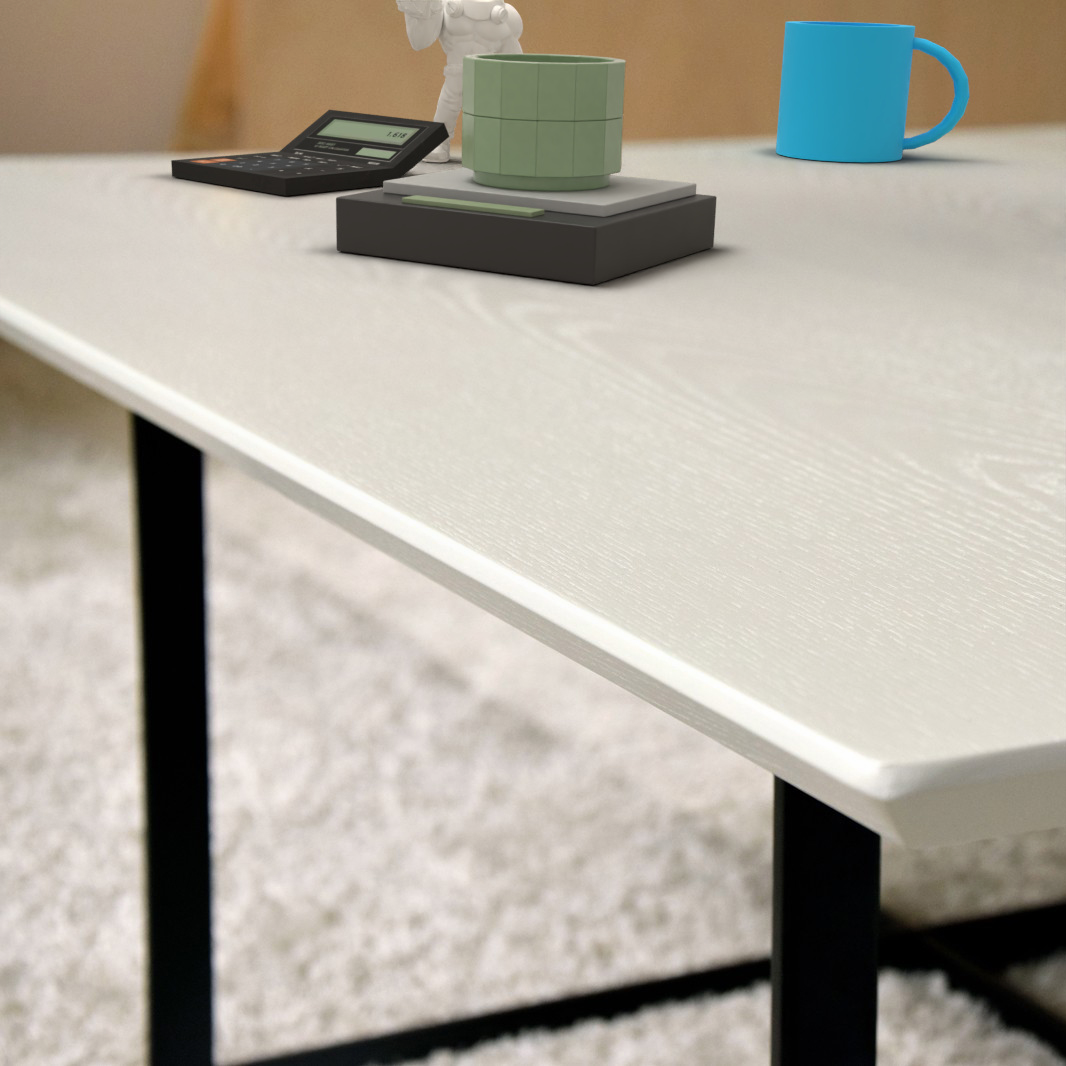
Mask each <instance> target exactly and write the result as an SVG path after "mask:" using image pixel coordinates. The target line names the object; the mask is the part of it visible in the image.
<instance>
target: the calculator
mask: <svg viewBox="0 0 1066 1066" xmlns="http://www.w3.org/2000/svg"><path fill="white" fill-rule="evenodd" d="M448 137H449V134H448V131H447V129H446V126H445V124H444V123H440V122H433V121H431V120H423V119H414V118H406V117H398V116H397V117H396V116H388V115H380V114H371V113H363V112H355V111H354V112H353V111H346V110H337V109H328V110H327V111H326V112H325V113H323V114H322V115H321V116H320V117H318V118H317V119H316V120H315V121H313V122H312V123H311V124H310V125H309V126H308V127H306V128H305V129H304V130H303V131H302V132H301V133H299V134H298V135H297V136H296V137H294V139H292V140H291V141H290V142H289V143H287V144H286V145H285V146H283V147H282V148H281V149H280V150H278V151H270V152H257V153H245V154H244V153H243V154H231V155H219V156H209V157H208V156H207V157H194V158H183V159H182V158H181V159H171V160H170V161H171V163H170V164H171V165H170V166H171V177H173V178H179V179H185V180H189V181H194V182H195V181H196V182H202V183H208V184H213V185H218V186H219V185H220V186H225V187H230V188H231V187H232V188H237V189H242V190H249V191H255V192H261V193H266V194H272V195H278V196H284V197H288V196H297V195H306V194H317V193H324V192H335V191H344V190H355V189H362V188H363V189H364V188H373V187H381V186H382V187H383V181H387V180H393V179H399V178H404V177H405V175H406V174H407V173H409V172H410V171H411V170H412V169H413V168H414V167H416V166H417V165H418V164H419V163H420V162H421V161H423V159H424V158H425V157H426V156H427V155H428V154H430V153H431V152H432V151H433V150H434V149H435V148H437V147H438V146H439V145H440V144H441V143H442V142H444V141H445V140H446V139H447V138H448Z"/></svg>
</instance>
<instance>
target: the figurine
mask: <svg viewBox="0 0 1066 1066" xmlns="http://www.w3.org/2000/svg"><path fill="white" fill-rule="evenodd" d="M395 4H396V5H397V10H398V11H399V12H400V13H401V12H402V13H404V22H405V31H406V36H407V39H408V41H409V44H410V47H411V49H412V50H414V51H416V52H420V51H422V50H424V49H427V48H429V47H431V46H432V45H433V44H434V43H435V42H436V41H437V40H438V42H439V45H440V46H441V49H442V51H443V53H444V54H445V55H446V65H444V66H443V71H442V72H443V74H442V75H443V77H445V78H444V82H443V85H442V87H441V90H440V93H439V98H438V99H437V103H436V111H435V113H434V117H433V121H432V122H440V123H444V124H445V126H446V129H447V131H448V134H449V137H448V138H447V139H446V140H445V141H444V142H442V143H441V144H440V145H439V146H438V147H437V148H435V149H434V150H433V151H432V152H431V153H430V154H428V155H427V156H426V157H425V158H424V159H423V160H422V162H425V163H446V162H449V160H450V159H451V140H454V139H455V134H456V133H455V128H456V127H457V121H458V118H459V115H460V113H461V111H462V86H463V57H464V56H467V55H473V54H499V53H524V51H523V49H522V48H523V47H522V46H521V43H520V41H519V39H520V38H521V36H522V34H523V31H524V23H523V19H522V16H521V15H520V13H519V12H518V10H517V9H516V8H515V7H514V6H513V5H512V4H509V3H507V2H505V0H395Z"/></svg>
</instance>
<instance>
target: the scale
mask: <svg viewBox="0 0 1066 1066" xmlns="http://www.w3.org/2000/svg"><path fill="white" fill-rule="evenodd" d="M716 213H717V196H716V195H709V194H701V193H697V183H695V182H688V181H687V182H684V181H676V180H668V179H667V180H665V179H664V180H663V179H657V178H656V179H655V178H644V177H636V176H635V177H634V176H625V175H615V174H611V176H610V185H608V186H606V187H603V188H599V189H592V190H582V191H527V190H513V189H503V188H496V187H490V186H485V185H481V184H478V183H476V182H474V181H473V170H470V169H467V168H465V167H460V168H459V167H458V168H453V169H448V170H442V171H436V172H428V173H424V174H416V175H411V176H404V177H401V178H399V179H393V180H387V181H383V186H382V189H375V190H370V191H364V192H358V193H352V194H346V195H341V196H336V198H335V225H336V227H335V228H336V229H335V232H336V237H335V238H336V251H338V252H342V253H351V254H356V255H357V254H358V255H365V256H372V257H381V258H386V259H387V258H389V259H395V260H401V261H402V260H403V261H410V262H417V263H425V264H433V265H439V266H448V267H456V268H461V269H469V270H477V271H485V272H491V273H499V274H507V275H513V276H514V275H515V276H523V277H529V278H537V279H545V280H552V281H560V282H568V283H574V284H582V285H589V286H593V285H598V284H600V283H603V282H607V281H610V280H614V279H617V278H619V277H623V276H625V275H629V274H632V273H636V272H638V271H642V270H645V269H647V268H651V267H655V266H657V265H660V264H663V263H666V262H671V261H673V260H677V259H680V258H683V257H686V256H689V255H692V254H695V253H699V252H702V251H705V250H708V249H712V248H714V245H715V229H716V228H715V227H716Z"/></svg>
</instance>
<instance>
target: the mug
mask: <svg viewBox="0 0 1066 1066" xmlns="http://www.w3.org/2000/svg"><path fill="white" fill-rule="evenodd" d="M915 33H916V26H915V25H910V24H909V25H908V24H897V23H895V24H894V23H879V22H878V23H875V22H853V21H852V22H851V21H814V20H813V21H812V20H811V21H808V20H807V21H806V20H805V21H804V20H801V21H800V20H799V21H798V20H797V21H796V20H795V21H794V20H793V21H785V23H784V35H783V51H782V62H781V75H780V90H779V103H778V116H777V130H776V143H775V153H776V154H778V155H779V156H784V157H788V158H793V159H795V158H796V159H802V160H810V161H811V160H812V161H821V162H822V161H823V162H837V163H839V162H840V163H885V162H895V161H900V160H902V158H903V154H904V151H906V150H907V151H908V150H916V149H918V148H921V147H924V146H926V145H930V144H933V143H935V142H937V141H938V140H940V139H941V138H942V137H944V136H945V135H947V134H948V133H950V132H951V131H953V129H955V127H956V126H957V124H958V123H959V122H960V120H961V119H962V118H963V116H964V115H965V112H966V110H967V106H968V103H969V100H970V85H969V78H968V75H967V74H966V72H965V70H964V68H963V66H962V64H961V62H960V60H959V59H958V58H956V57H955V56H954V55H953V54H952V53H951V52H950V51H949V50H947V48H945V47H943V46H941V45H940V44H938V43H935V42H933V41H931V40H929V39H926V38H922V37H915ZM915 50H916V51H920V52H922V53H924V54H926V55H929V56H930V57H932V58H935V59H936V60H937V61H938V62H939V63H940V64H941V65H942V66H943V67H944V68H945V69H946V70H947V72H948V75H949V76H950V78H951V80H952V82H953V90H954V91H953V94H954V97H953V100H952V103H951V106H950V109H949V110H948V112H947V114H946V115H945V116H944V117H943V118H942V120H941V121H940V122H939V123H938V124H936V125H935V126H933V127H931V128H930V129H929V130H927V131H926V132H923V133H920V134H917V135H913V136H911V137H905V134H906V126H907V125H906V123H907V113H908V112H907V111H908V105H909V94H910V93H909V92H910V84H911V73H912V64H913V53H914V51H915Z"/></svg>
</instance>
